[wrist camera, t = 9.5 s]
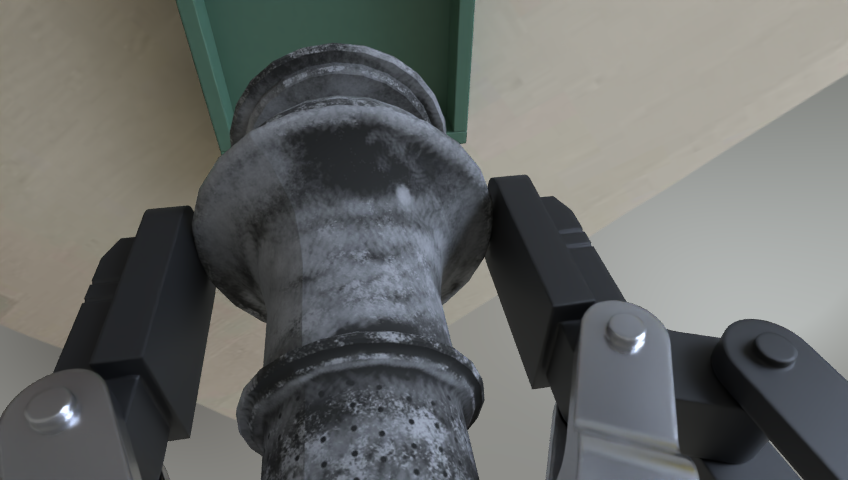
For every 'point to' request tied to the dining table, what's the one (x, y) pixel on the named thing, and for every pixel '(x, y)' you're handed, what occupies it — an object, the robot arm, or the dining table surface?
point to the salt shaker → (348, 267)
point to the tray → (321, 24)
